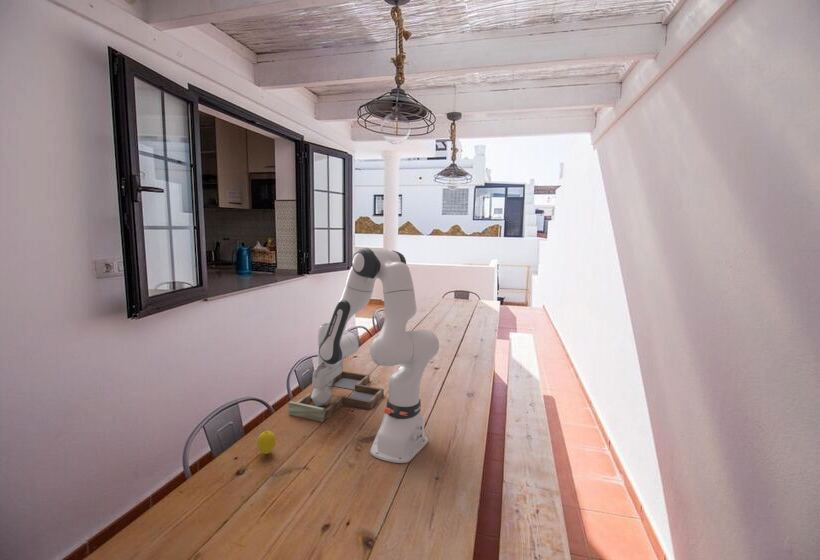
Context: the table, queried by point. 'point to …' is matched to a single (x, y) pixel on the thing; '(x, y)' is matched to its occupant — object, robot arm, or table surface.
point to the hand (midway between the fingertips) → (328, 390)
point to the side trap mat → (361, 396)
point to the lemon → (266, 442)
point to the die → (321, 396)
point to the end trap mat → (346, 383)
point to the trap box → (320, 414)
